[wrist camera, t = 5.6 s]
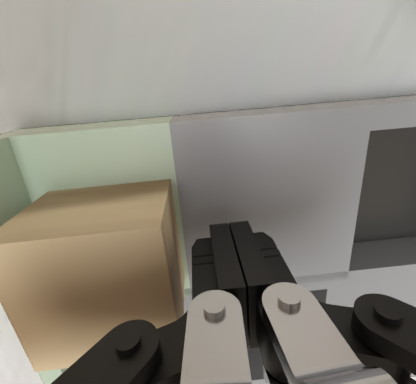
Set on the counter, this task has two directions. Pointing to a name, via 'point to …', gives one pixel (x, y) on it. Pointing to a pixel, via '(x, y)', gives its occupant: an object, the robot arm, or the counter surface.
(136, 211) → the block
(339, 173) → the grey slotted tray
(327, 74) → the counter surface
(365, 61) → the counter surface
